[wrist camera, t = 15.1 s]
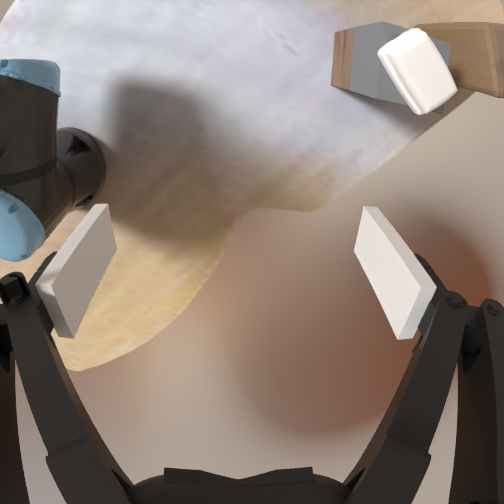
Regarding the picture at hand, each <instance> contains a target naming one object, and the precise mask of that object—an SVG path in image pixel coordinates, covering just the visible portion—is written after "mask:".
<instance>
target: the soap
mask: <svg viewBox="0 0 504 504" xmlns="http://www.w3.org/2000/svg"><path fill="white" fill-rule="evenodd" d="M378 57H379V59H380V60H381V62H382V64H383V66H384V67H385V69H386V71H387V73H388V74H389V76H390V78H391V79H392V81H393V83H394V84H395V86H396V87H397V89H398V90H399V92H400V93H401V95H402V96H403V98H404V99H405V101H406V102H407V104H408V105H409V107H410V108H411V109H412V111H413V112H414V113H415V114H418V115H423V114H427V113H429V112H431V111H432V110H434V109H436V108H438V107H439V106H441V105H442V104H443V103H445V102H446V101H447V100H448V99H450V98H451V97H452V96H453V95H454V94H455V93H456V92H457V87H456V85H455V82H454V80H453V77H452V75H451V73H450V71H449V69H448V67H447V65H446V63H445V61H444V59H443V58H442V56H441V54H440V53H439V51H438V49H437V48H436V46H435V45H434V43H433V42H432V40H431V39H430V37H429V36H428V35H427V33H426V32H424V31H422V30H421V29H419V28H413V29H410V30H408V31H405V32H403V33H402V34H400V36H398V37H397V38H395V39H394V40H391V41H389V42H388V43H386V44H385V45H384V46H383V47H382V48H381V49H380V50H379V51H378ZM396 75H397V76H396Z"/></svg>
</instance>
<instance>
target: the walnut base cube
mask: <svg viewBox="0 0 504 504" xmlns="http://www.w3.org/2000/svg"><path fill="white" fill-rule="evenodd" d="M353 40H354V28H351V29H347V30H343V31H339V32H335V40H334V54H333V67H332V79H331V85H332V86H336V87H339V88H342V89H346V90H349V85H350V75H351V65H352V53H353ZM349 91H350V90H349Z"/></svg>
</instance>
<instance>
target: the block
mask: <svg viewBox="0 0 504 504" xmlns="http://www.w3.org/2000/svg"><path fill="white" fill-rule="evenodd" d="M414 28H419V29H421V30H422V31H424V32H426V33H427V35H428V36H431V37H434V38H437V39H439V40H442V41H444V42H447V43H450V54H449V65H448V69H449V71H450V73H451V75H452V77H453V80H454V82H455V85H456V86H459V87H463V88H467V89H471V90H474V91H478V92H481V93H484V94H488V95H491V96H494V97H497V98H504V24H498V23H489V22H455V23H434V24H421V25H417V26H415V27H414Z"/></svg>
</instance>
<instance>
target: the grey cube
mask: <svg viewBox="0 0 504 504" xmlns="http://www.w3.org/2000/svg"><path fill="white" fill-rule="evenodd" d="M408 30H410V29H407V28H404V27H400V26H397V25H393V24H390V23H386V22H378V23H373V24H368V25H364V26H359V27H355V28H354V40H353V53H352V65H351V75H350V85H349V90H350V91H353V92H356V93H359V94H362V95H366V96H369V97H372V98H375V99H379V100H384V101H389V102H394V103H399V104H404V105H408V104H407V102H406V101H405V99H404V98H403V96H402V95H401V93H400V92H399V90H398V89H397V87H396V86H395V84H394V83H393V81H392V79H391V78H390V76H389V74H388V73H387V71H386V69H385V67H384V66H383V64H382V62H381V60H380V59H379V57H378V51H379V50H380V49H381V48H382V47H383V46H384V45H385V44H386V43H388V42H389V41H391V40H394V39H395V38H397V37H398V36H400V34H402V33H403V32H405V31H408ZM429 37H430V39H431V40H432V42H433V43H434V45H435V46H436V48H437V49H438V51H439V53H440V54H441V56H442V58H443V59H444V61H445V63H446V65H447V67H448V65H449V54H450V43H447V42H444V41H442V40H439V39H437V38H434V37H431V36H429ZM396 76H397V75H396ZM443 104H444V103H443ZM443 104H442V105H441V106H439V107H438V108H436V109H434V110H432V111H433V112H437V113H440V114H442V110H443ZM408 106H409V105H408Z"/></svg>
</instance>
